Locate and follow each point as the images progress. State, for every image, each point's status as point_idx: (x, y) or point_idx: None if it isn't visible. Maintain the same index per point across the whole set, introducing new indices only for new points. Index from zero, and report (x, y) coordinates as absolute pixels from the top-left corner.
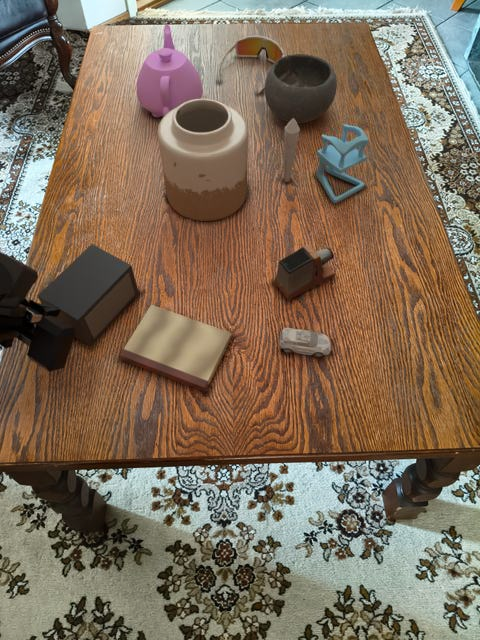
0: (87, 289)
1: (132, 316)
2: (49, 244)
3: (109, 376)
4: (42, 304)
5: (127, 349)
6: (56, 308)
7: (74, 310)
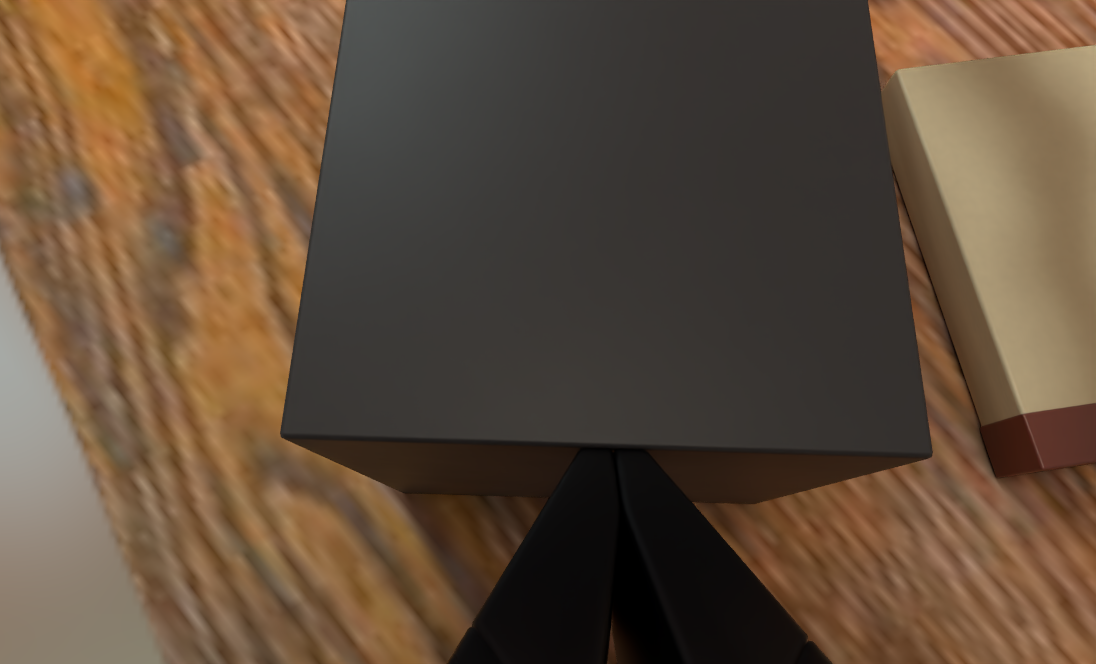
0: (712, 111)
1: None
2: (10, 46)
3: (1034, 625)
4: (542, 565)
5: (1047, 402)
6: (633, 467)
7: (798, 374)
